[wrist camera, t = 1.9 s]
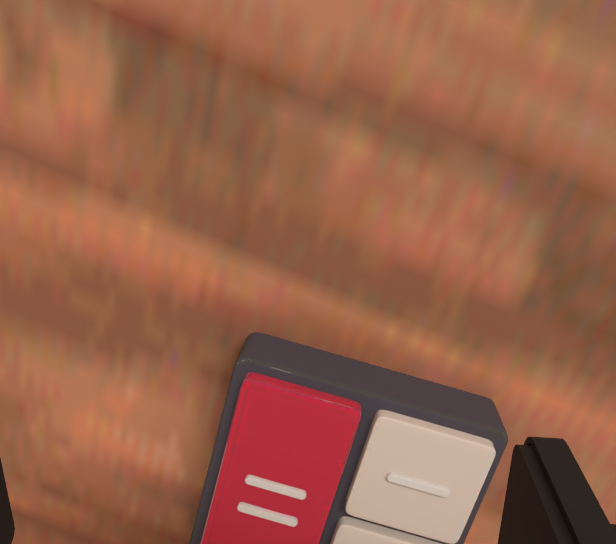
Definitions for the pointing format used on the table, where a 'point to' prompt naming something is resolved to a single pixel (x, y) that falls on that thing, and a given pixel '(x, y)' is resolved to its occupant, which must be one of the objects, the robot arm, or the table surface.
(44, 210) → the table surface
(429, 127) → the table surface
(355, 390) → the calculator
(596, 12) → the table surface
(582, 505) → the robot arm
